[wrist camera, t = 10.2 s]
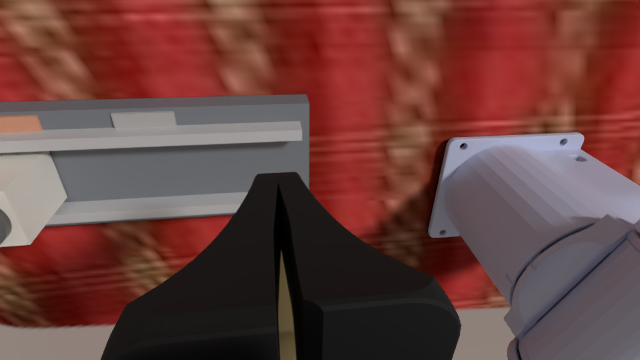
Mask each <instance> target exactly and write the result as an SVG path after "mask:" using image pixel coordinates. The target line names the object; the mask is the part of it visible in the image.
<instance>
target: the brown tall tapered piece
mask: <svg viewBox="0 0 640 360" xmlns="http://www.w3.org/2000/svg"><path fill="white" fill-rule="evenodd" d="M278 323H279V343H280V360H296V349H295V337H294V324H293V315H292V307H291V301H290V296H289V290H288V285H287V279H286V274H285V268H284V263H283V257H282V251H281V262H280V284H279V305H278Z"/></svg>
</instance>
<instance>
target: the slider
mask: <svg viewBox="0 0 640 360" xmlns="http://www.w3.org/2000/svg"><path fill="white" fill-rule="evenodd" d="M66 198H67V195H66V192H65V190H64V187H63V185H62V182H61V180H60V177H59V175H58V172H57V170H56V167H55V165H54V162H53V160H52V157H51V155H50V152H49V151H35V152H11V153H0V247H5V246H19V245H30V244H31V243H32V242H33V240H34V239H35V238H36V237H37V235H38V234H39V233H40V231H41V230H42V229H43V228H44V226H45V225H46V224H47V222H48V221H49V220H50V219H51V217H52V216H53V215H54V214H55V212H56V211H57V210H58V208H59V207H60V206H61V205H62V203H63V202H64V201H65V199H66Z"/></svg>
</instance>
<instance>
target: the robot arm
mask: <svg viewBox="0 0 640 360" xmlns="http://www.w3.org/2000/svg"><path fill="white" fill-rule="evenodd" d="M562 139H563V141H562V142H560V141H561V140H562ZM583 141H584V136H583V135H582V134H580V133H552V134H529V135H505V136H481V137H458V138H452V139H450V140H449V141H448V142H447V145H446V149H445V154H444V158H443V163H442V168H441V172H440V177H439V182H438V186H437V191H436V196H435V200H434V205H433V210H432V214H431V219H430V224H429V228H428V233H429V235H430V237H432V238H441V237H454V236H461V237H462V238H463V240H464V241H465V243H466V244H467V245H468V247H469V248H470V250H471V251H472V253H473V254H474V255H475V257H476V258H477V260H478V261H479V263H480V264H481V265H482V267H483V268H484V270H485V271H486V273H487V274H488V275H489V277H490V278H491V280H492V281H493V283H494V284H495V285H496V287H497V288H498V290H499V291H500V292H501V294H502V295H503V297H504V298H505V300H506V301H507V302H508V304H509V305H510V307H511V308H510V310H509V312H508V313H507V314H506V316H505V317H504V320H505V322H506V323H507V325H508V326H509V327H510V329H511V331H512V332H513V334H514V335H515V338H514V339H513V340H512V341H511V342H510V343H509V346H508V349H507V357H508V360H640V186H639V185H637V184H635V183H634V182H632V181H631V180H629V179H627V178H626V177H624V176H623V175H621V174H619V173H618V172H616V171H615V170H613V169H611V168H610V167H608V166H606V165H605V164H603V163H602V162H600V161H598V160H597V159H595V158H594V157H592V156H590V155H589V154H587V153H586V152H584V151H582V150H581V149H580V148H581V146H582V144H583ZM463 143H465V144H464V146H463V147H461V148H460V145H461V144H463ZM441 230H443V231H442V232H440V231H441ZM281 251H282V257H283V263H284V268H285V274H286V279H287V285H288V290H289V296H290V301H291V307H292V315H293V324H294V337H295V349H296V360H452V357H453V354H454V351H455V348H456V345H457V342H458V339H459V336H460V330H461V323H460V320H459V316H458V314H457V312H456V310H455V308H454V307H453V305H452V303H451V301H450V300H449V298H448V296H447V295H446V293H445V292H444V290H443V289H442V288H441V286H440V285H439V284H438V282H437V281H436V279H435V278H434V276H431V275H429V274H426V273H424V272H422V271H419V270H417V269H414V268H412V267H409V266H407V265H405V264H402V263H400V262H398V261H396V260H394V259H393V258H391V257H389V256H387V255H385V254H383V253H381V252H379V251H378V250H376V249H374V248H373V247H371V246H370V245H368V244H366V243H365V242H363V241H362V240H360V239H359V238H357V237H356V236H355V235H353V234H352V233H351V232H349V231H348V230H347V229H346V228H344V227H343V226H342V225H341V224H340V223H339V222H338V221H337V220H336V219H334V218H333V217H332V216H331V215H330V214H329V213H328V212H327V210H326V209H325V208H324V207H323V206H322V205H321V204H320V203H319V201H318V200H317V199H316V198H315V197H314V195H313V194H312V193H311V192H310V190H309V189H308V188H307V186H306V185H305V183H304V182H303V180H302V179H301V177H300V175H299V174H298V173H297V172H281V173H261V174H257V175H256V176H255V178H254V181H253V183H252V185H251V188H250V190H249V191H248V193H247V195H246V197H245V199H244V200H243V202H242V203H241V205H240V207H239V208H238V210H237V211H236V213H235V214H234V215H233V217H232V218H231V220H230V221H229V222H228V224H227V225H226V226H225V228H224V229H223V230H222V231H221V232H220V234H219V235H218V236H217V237H216V238H215V239H214V240H213V241H212V242H211V243H210V245H209V246H207V247H206V248H205V249H204V250H203V251H202V252H201V253H200V254H199V255H198V256H197V257H196V258H195V259H194V260H193V261H191V262H190V263H189V264H188V265H186V266H185V267H184V268H183V269H181V270H180V271H179V272H177V273H176V274H175V275H173V276H172V277H170V278H169V279H168V280H166V281H165V282H163V283H162V284H160V285H159V286H157V287H155V288H154V289H152V290H150V291H149V292H147V293H146V294H144V295H142V296H141V297H139V298H137V299H136V300H134V301H132V302H131V303H129V304H127V305H126V307H125V309H124V311H123V312H122V314H121V316H120V318H119V320H118V321H117V323H116V325H115V327H114V329H113V331H112V333H111V335H110V337H109V339H108V342H107V345H106V347H105V350H104V352H103V355H102V357H101V360H280V343H279V323H278V305H279V284H280V262H281Z"/></svg>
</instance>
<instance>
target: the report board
mask: <svg viewBox="0 0 640 360" xmlns="http://www.w3.org/2000/svg"><path fill="white" fill-rule="evenodd" d="M35 151H49V152H50V155H51V157H52V160H53V162H54V165H55V167H56V170H57V172H58V175H59V177H60V180H61V182H62V185H63V187H64V190H65V192H66V195H67V198H66V199H65V201H64V202H63V203H62V205H61V206H60V207H59V208H58V210H57V211H56V212H55V214H54V215H53V216H52V217H51V219H50V220H49V221H48V222H47V224H46V225H45V226H44V227H48V226H63V225H79V224H95V223H110V222H126V221H141V220H157V219H172V218H188V217H203V216H219V215H234V214H235V213H236V211H237V210H238V208H239V207H240V205H241V203H242V202H243V200H244V199H245V197H246V195H247V193H248V191H249V190H250V188H251V185H252V183H253V181H254V178H255V176H256V175H257V174H261V173H281V172H297V173H298V174H299V175H300V177H301V179H302V180H303V182H304V183H305V185H306V186H307V188H308V189H309V101H308V98H307V95H306V94H298V95H259V96H220V97H181V98H142V99H103V100H64V101H26V102H0V153H11V152H35Z"/></svg>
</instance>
